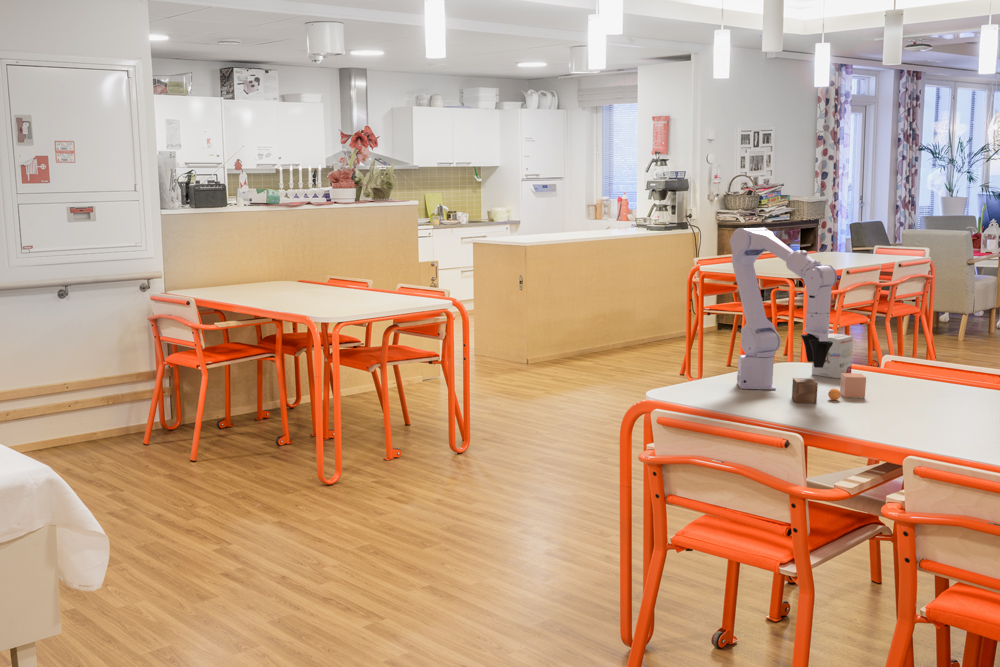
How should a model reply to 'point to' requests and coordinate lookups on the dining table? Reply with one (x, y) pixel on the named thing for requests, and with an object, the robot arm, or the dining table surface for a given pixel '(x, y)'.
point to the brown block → (804, 390)
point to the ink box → (837, 357)
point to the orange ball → (834, 394)
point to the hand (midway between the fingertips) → (815, 364)
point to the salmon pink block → (852, 385)
